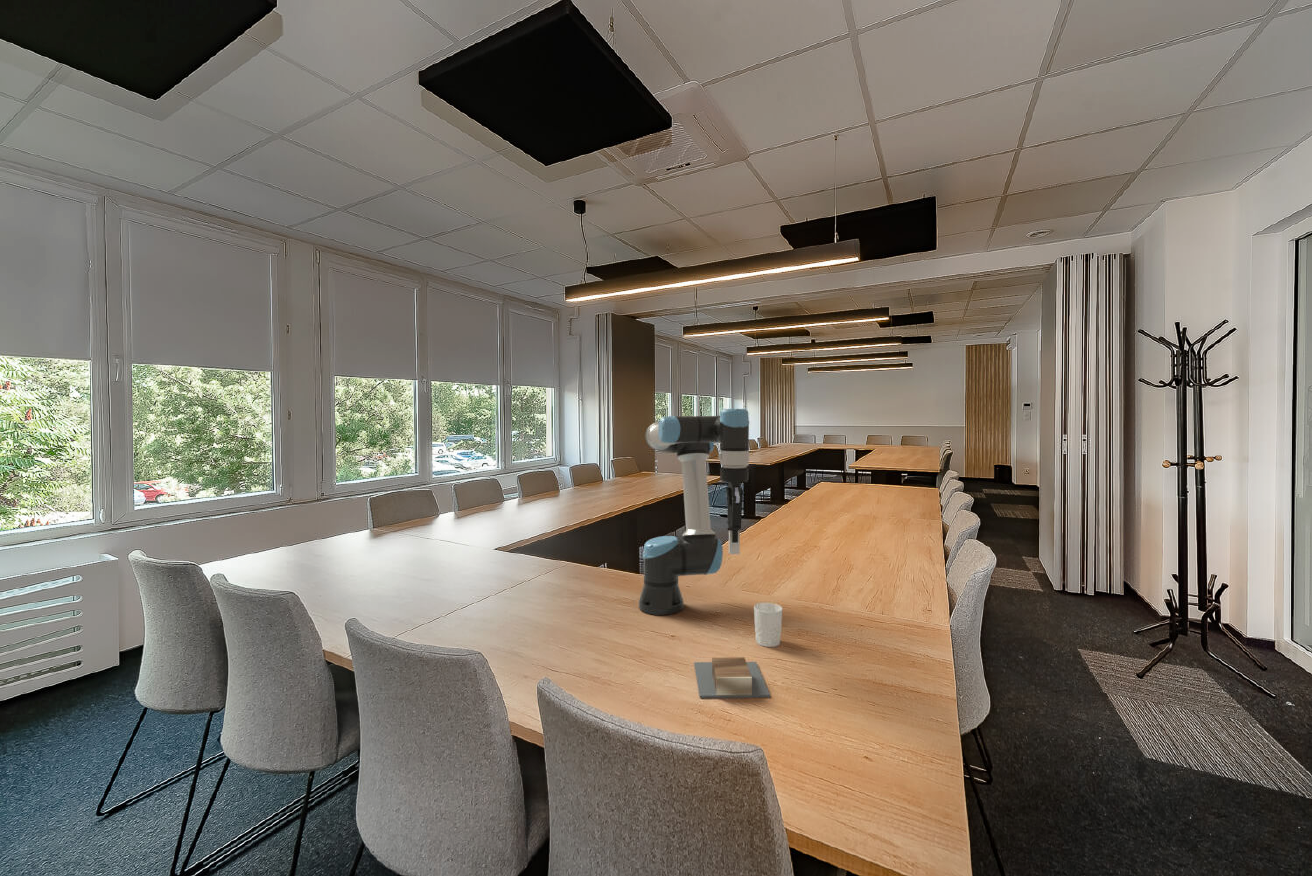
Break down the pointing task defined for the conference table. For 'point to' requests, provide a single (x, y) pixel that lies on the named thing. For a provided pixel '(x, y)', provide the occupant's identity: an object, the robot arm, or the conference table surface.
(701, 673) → the rubber mat
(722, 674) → the walnut slab
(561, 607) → the conference table surface
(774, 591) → the conference table surface
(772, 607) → the white cup
